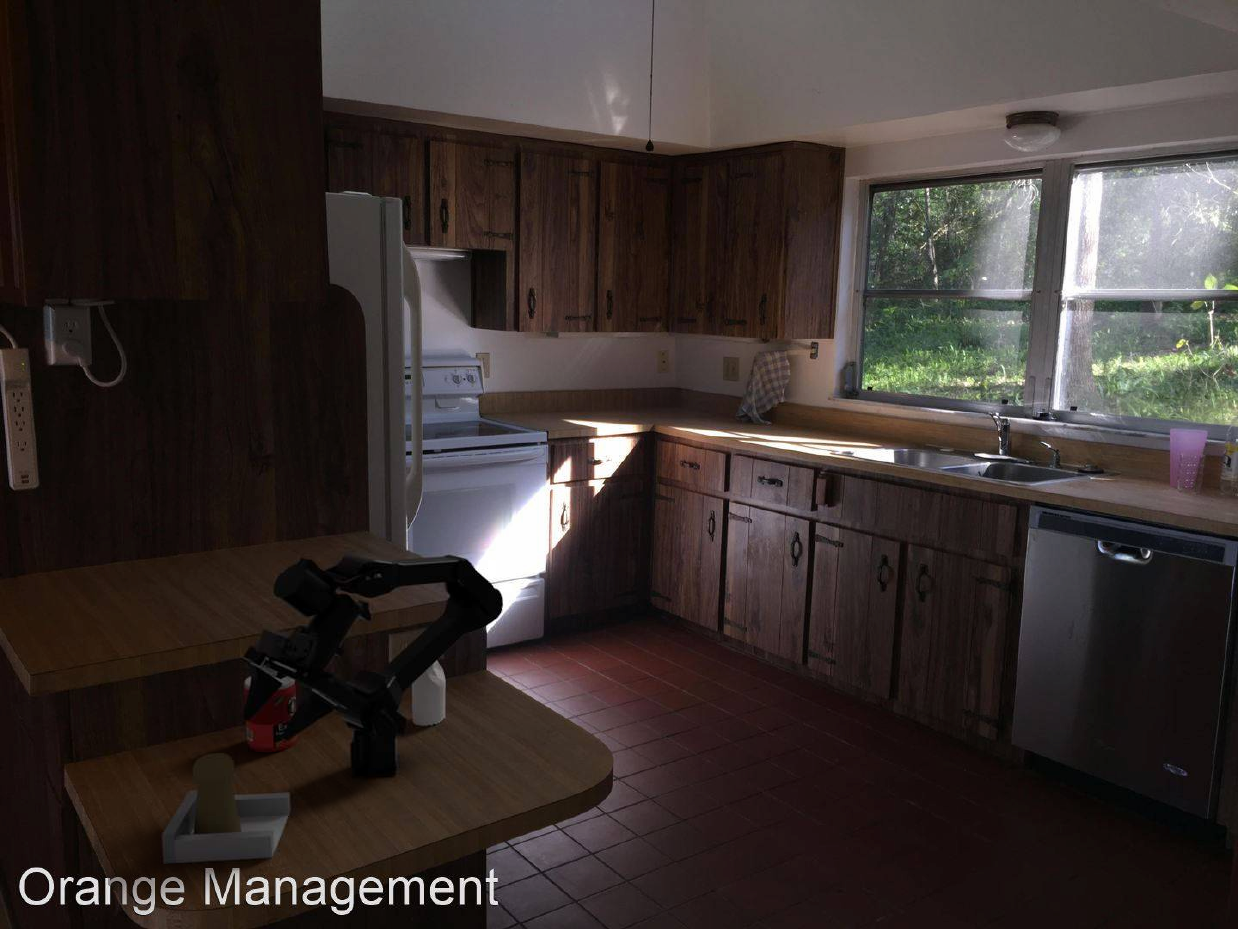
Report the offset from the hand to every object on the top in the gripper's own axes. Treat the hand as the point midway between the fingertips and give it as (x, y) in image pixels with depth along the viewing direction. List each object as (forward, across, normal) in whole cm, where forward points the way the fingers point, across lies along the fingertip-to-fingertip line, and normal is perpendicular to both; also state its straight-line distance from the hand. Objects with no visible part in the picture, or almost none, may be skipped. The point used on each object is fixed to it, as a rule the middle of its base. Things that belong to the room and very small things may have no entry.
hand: (264, 729), depth 141 cm
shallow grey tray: (+14, +3, +4) cm, 14 cm away
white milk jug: (-15, -5, +36) cm, 39 cm away
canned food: (0, -19, +20) cm, 27 cm away
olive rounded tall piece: (+14, +1, +2) cm, 15 cm away
